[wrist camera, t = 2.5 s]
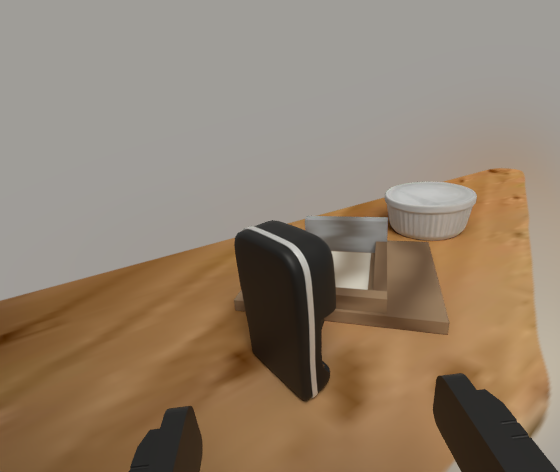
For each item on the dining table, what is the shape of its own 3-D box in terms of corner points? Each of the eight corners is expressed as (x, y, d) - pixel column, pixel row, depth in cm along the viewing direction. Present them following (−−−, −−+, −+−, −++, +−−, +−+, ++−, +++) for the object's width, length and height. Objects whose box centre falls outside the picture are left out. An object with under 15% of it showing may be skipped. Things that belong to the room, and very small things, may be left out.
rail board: (235, 310, 32) (227, 264, 30) (279, 244, 45) (275, 209, 43) (447, 334, 26) (455, 280, 24) (427, 250, 39) (431, 210, 37)
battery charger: (346, 377, 23) (344, 234, 19) (307, 409, 21) (295, 257, 17) (285, 330, 28) (272, 209, 24) (249, 352, 26) (227, 224, 22)
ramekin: (370, 234, 45) (371, 198, 43) (401, 210, 53) (403, 178, 51) (458, 252, 38) (464, 211, 36) (479, 221, 46) (485, 185, 44)
